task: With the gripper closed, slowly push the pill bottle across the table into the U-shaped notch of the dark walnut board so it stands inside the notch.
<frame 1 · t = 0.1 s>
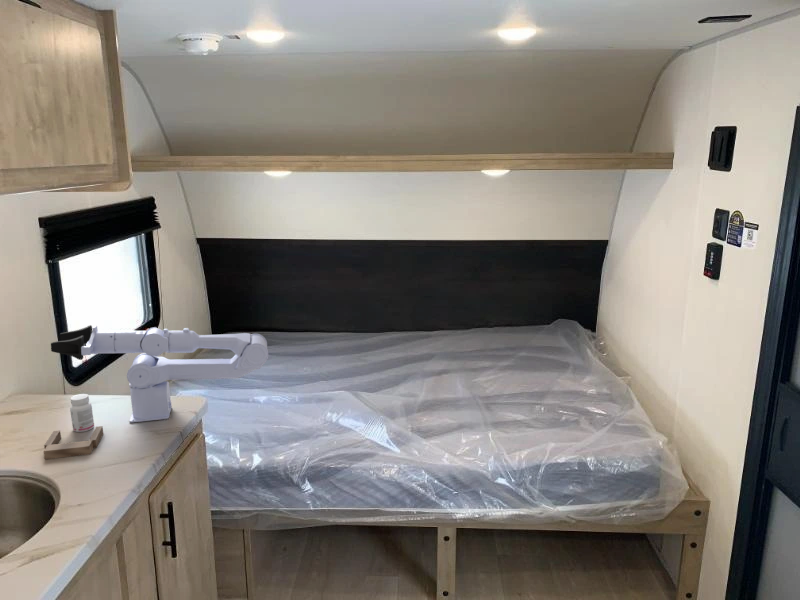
hand: (56, 342, 150), 22 cm above the worktop, tool horizontal, fingers open, 7 cm apart
notched board: (74, 445, 144), on the worktop
pill bottle: (83, 429, 153), on the worktop
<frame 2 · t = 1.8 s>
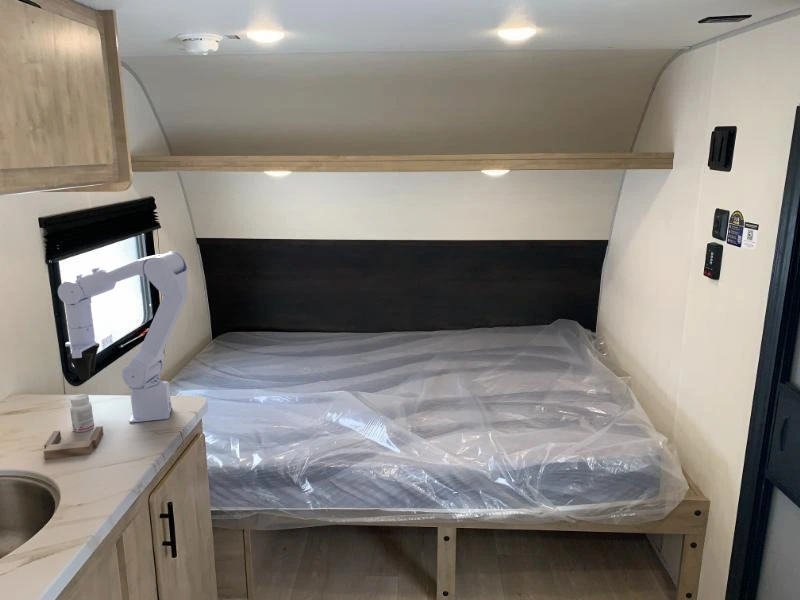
hand: (87, 375, 159), 10 cm above the worktop, tool pointing down, fingers open, 5 cm apart
nothing on the worktop moved.
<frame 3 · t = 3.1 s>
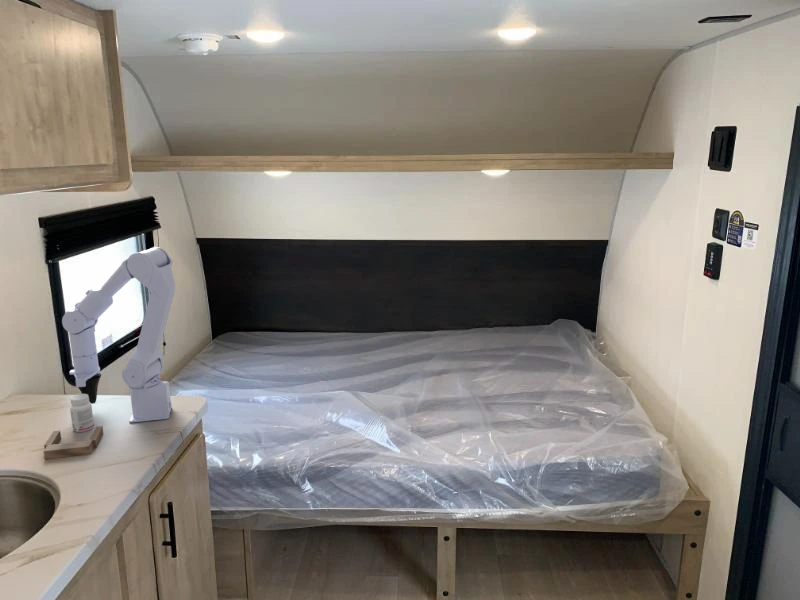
hand: (91, 402, 161), 3 cm above the worktop, tool pointing down, fingers closed
nothing on the worktop moved.
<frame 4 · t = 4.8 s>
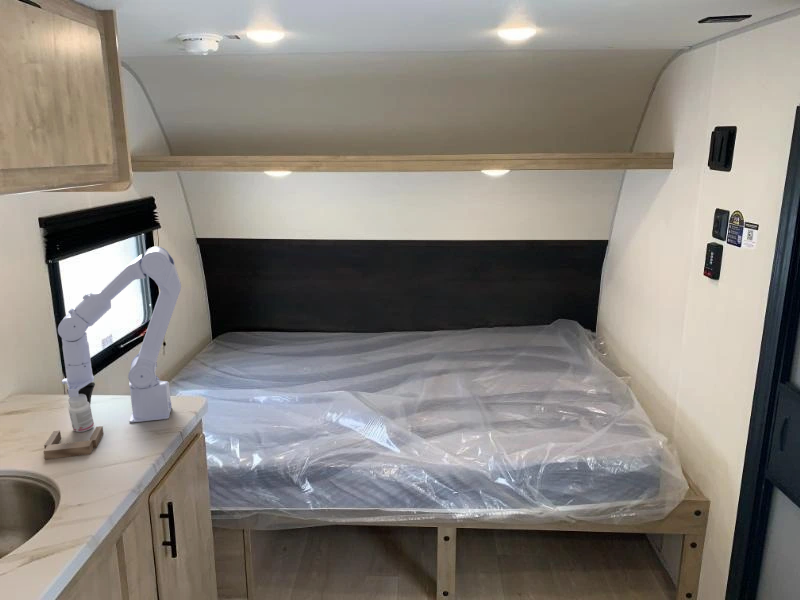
hand: (84, 412, 155), 3 cm above the worktop, tool pointing down, fingers closed
pill bottle: (83, 427, 153), on the worktop, touching gripper
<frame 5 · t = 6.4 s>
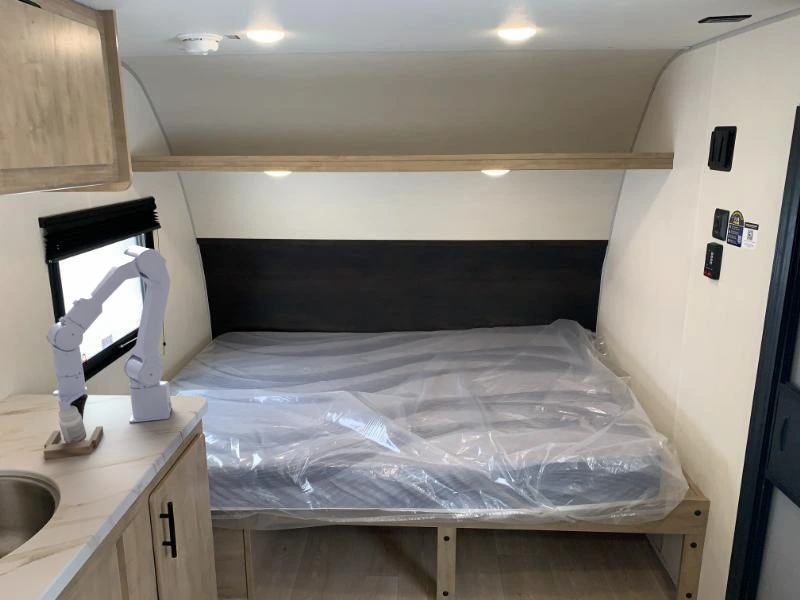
hand: (77, 426, 147), 3 cm above the worktop, tool pointing down, fingers closed, pressing on pill bottle
pill bottle: (76, 438, 146), on the worktop, touching gripper
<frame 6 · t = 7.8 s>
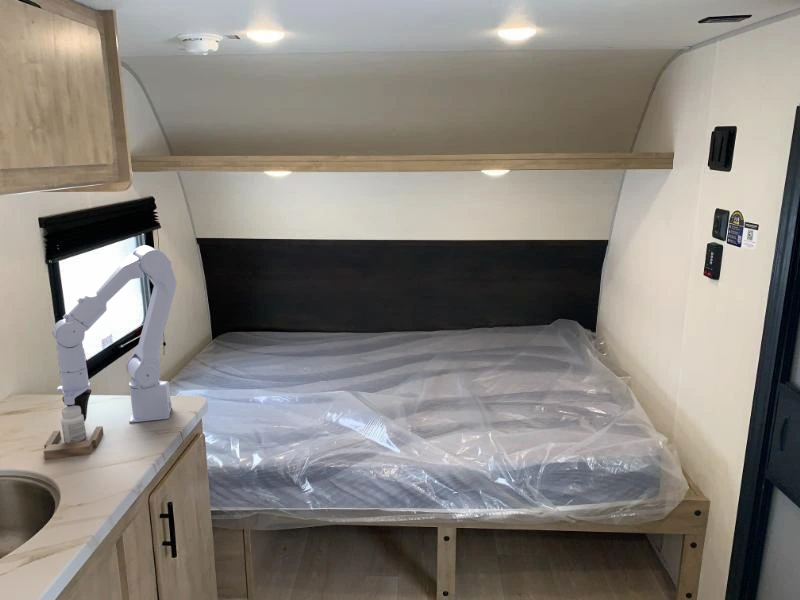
hand: (80, 420, 150), 3 cm above the worktop, tool pointing down, fingers closed
pill bottle: (76, 442, 146), on the worktop
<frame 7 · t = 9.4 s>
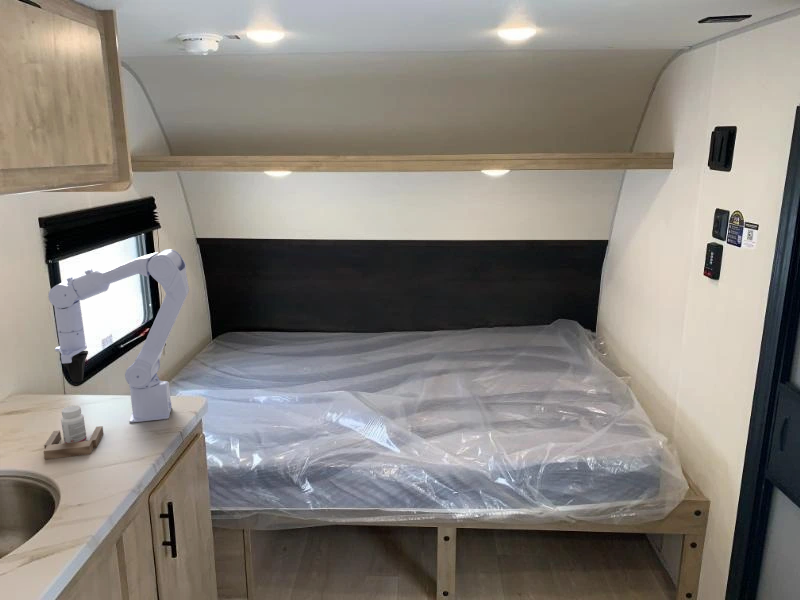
hand: (77, 381, 155), 10 cm above the worktop, tool pointing down, fingers closed
nothing on the worktop moved.
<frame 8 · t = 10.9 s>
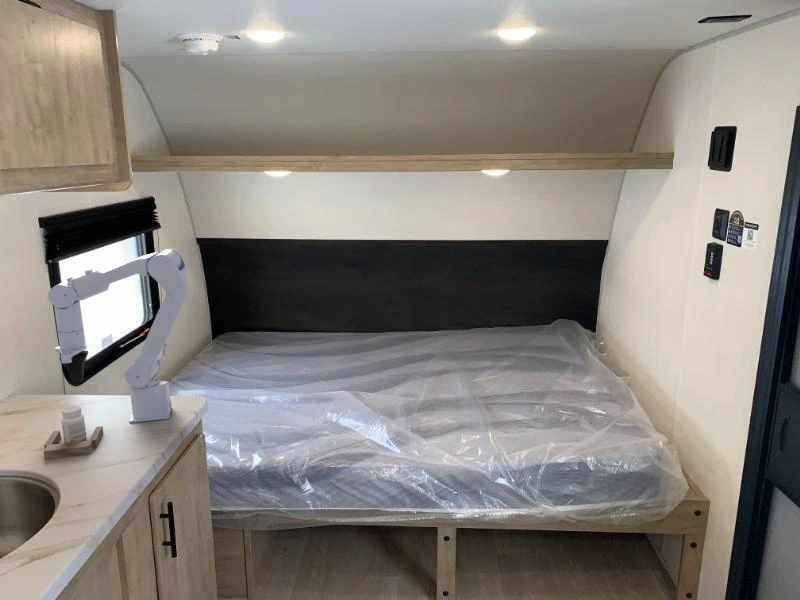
hand: (77, 381, 155), 10 cm above the worktop, tool pointing down, fingers closed
nothing on the worktop moved.
at the end: pill bottle 1.1 cm from the target spot on the notched board, point 0.0 cm above the notched board's base; pill bottle tilted 0° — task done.
